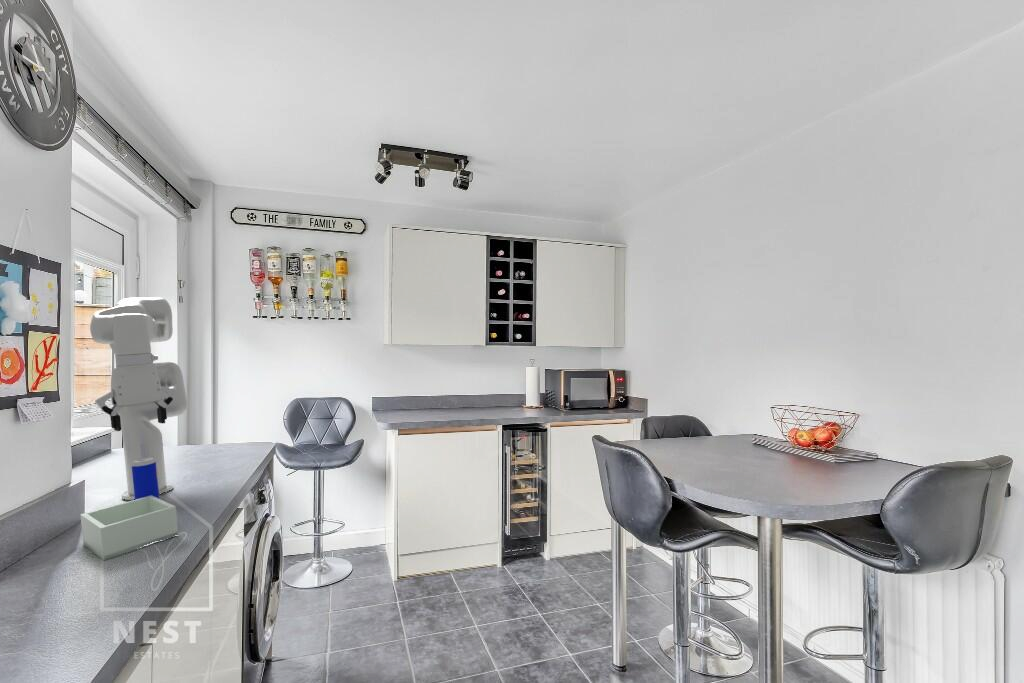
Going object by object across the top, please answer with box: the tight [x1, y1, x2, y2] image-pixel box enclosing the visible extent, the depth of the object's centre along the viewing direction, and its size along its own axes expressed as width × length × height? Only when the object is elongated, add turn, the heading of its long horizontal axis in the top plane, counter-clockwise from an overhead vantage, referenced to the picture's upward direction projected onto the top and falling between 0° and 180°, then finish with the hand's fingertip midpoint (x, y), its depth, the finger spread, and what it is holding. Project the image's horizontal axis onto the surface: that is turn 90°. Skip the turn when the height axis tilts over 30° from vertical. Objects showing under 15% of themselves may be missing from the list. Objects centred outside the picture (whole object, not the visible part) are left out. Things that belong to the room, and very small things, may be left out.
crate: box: [79, 495, 179, 561], centre depth 117 cm, size 16×14×7 cm
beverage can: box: [132, 457, 160, 500], centre depth 133 cm, size 5×5×15 cm
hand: (140, 426), depth 132 cm, fingers open, 9 cm apart
